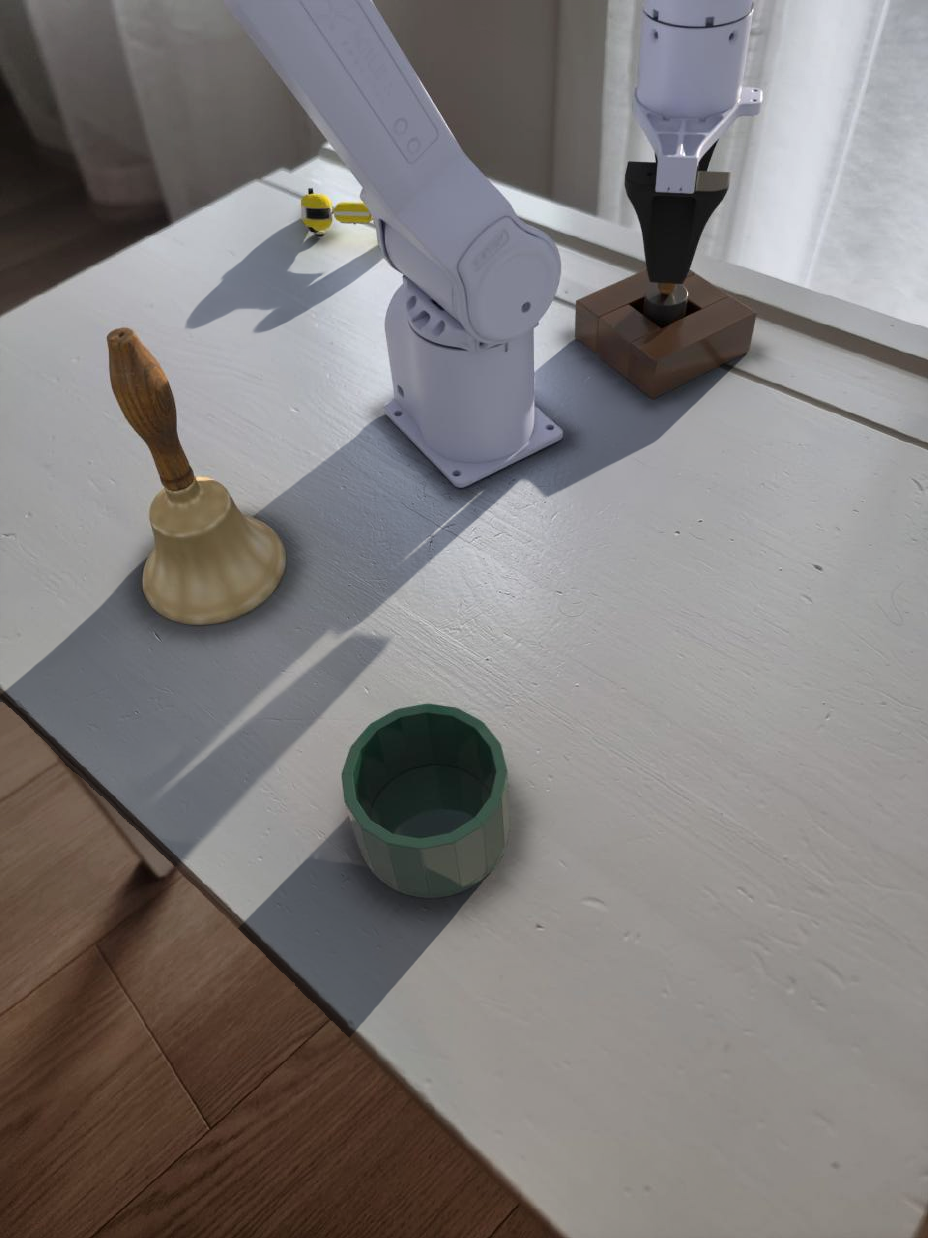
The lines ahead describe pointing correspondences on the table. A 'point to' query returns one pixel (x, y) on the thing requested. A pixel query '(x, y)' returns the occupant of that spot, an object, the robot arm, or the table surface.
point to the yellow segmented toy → (330, 212)
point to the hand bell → (190, 509)
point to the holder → (663, 332)
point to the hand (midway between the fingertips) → (671, 245)
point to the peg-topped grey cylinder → (665, 303)
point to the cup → (428, 799)
